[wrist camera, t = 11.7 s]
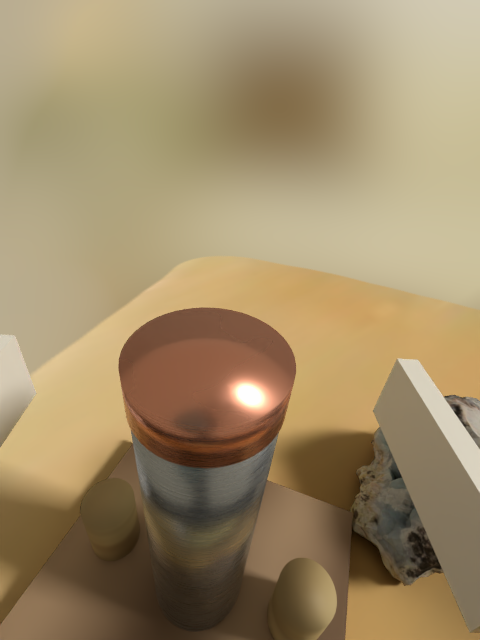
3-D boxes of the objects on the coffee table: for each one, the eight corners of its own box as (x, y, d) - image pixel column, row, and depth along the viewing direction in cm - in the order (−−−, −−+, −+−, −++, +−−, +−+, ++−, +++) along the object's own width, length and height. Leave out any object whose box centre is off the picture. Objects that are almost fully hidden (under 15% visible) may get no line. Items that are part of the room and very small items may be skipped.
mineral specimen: (367, 509, 23) (531, 700, 14) (295, 467, 19) (457, 692, 10) (456, 401, 23) (679, 523, 14) (401, 338, 19) (657, 450, 10)
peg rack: (346, 524, 17) (370, 481, 15) (319, 889, 9) (362, 916, 7) (142, 445, 20) (137, 398, 18) (-16, 671, 12) (-64, 639, 10)
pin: (253, 546, 15) (309, 330, 8) (223, 652, 12) (270, 457, 5) (180, 514, 16) (174, 294, 9) (135, 607, 13) (76, 386, 6)
